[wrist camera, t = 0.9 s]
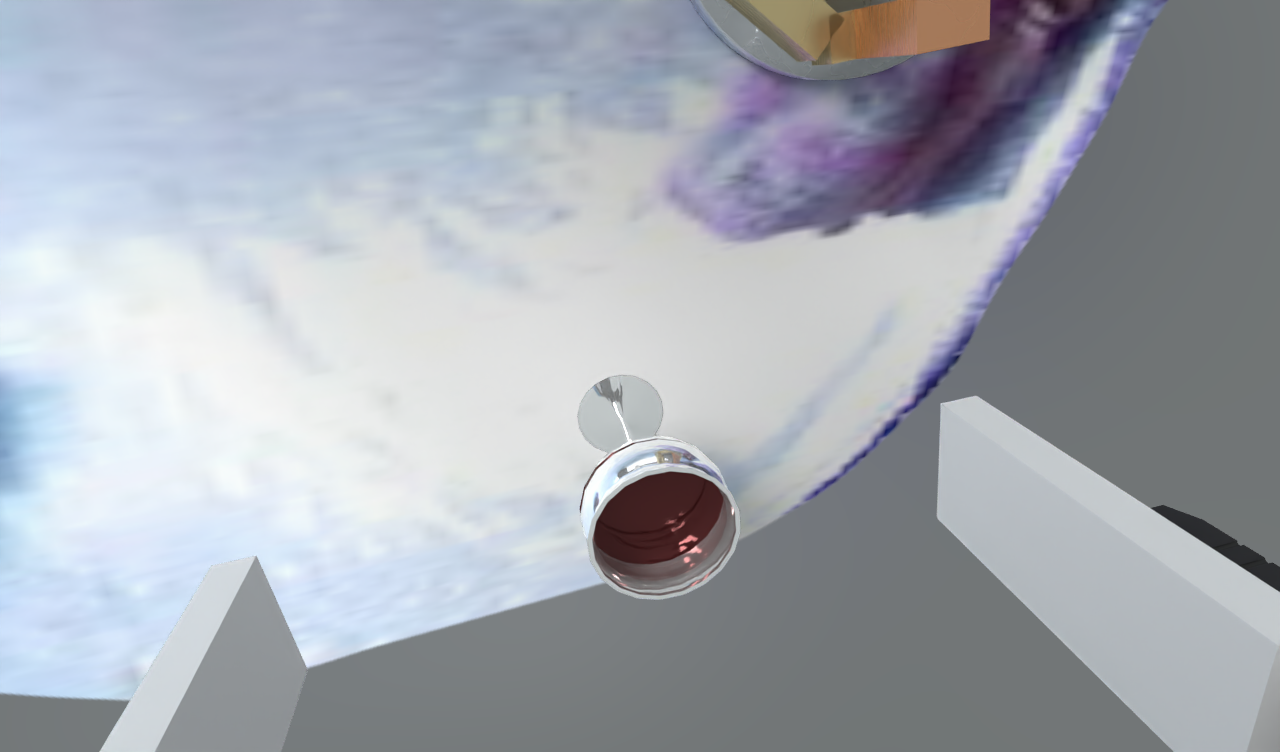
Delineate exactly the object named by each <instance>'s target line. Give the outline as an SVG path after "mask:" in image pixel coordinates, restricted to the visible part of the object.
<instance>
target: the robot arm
mask: <svg viewBox="0 0 1280 752" xmlns="http://www.w3.org/2000/svg"><path fill="white" fill-rule="evenodd" d="M938 471H939V472H938V499H937V500H938V501H937V519H938V520H939V521H940V522H941V523H942V524H943V525H944V526H945V527H946V528H947V529H948V530H950V532H952V533H953V534H954V535H955V536H956V537H957V538H958V539H959V540H960V541H961V542H962V543H963V544H964V545H965V546H966V547H967V548H968V549H969V550H970V551H971V552H972V553H973V554H974V555H975V556H976V557H977V558H978V559H979V560H980V561H981V562H982V563H983V564H984V565H985V566H986V567H987V568H988V569H989V570H990V571H991V572H992V573H993V574H994V575H995V576H996V577H997V578H998V579H999V580H1000V581H1001V582H1002V583H1003V584H1004V585H1005V586H1006V587H1007V588H1008V589H1009V590H1010V591H1011V592H1012V593H1013V594H1014V595H1015V596H1016V597H1017V598H1018V599H1019V600H1020V601H1022V603H1024V604H1025V605H1026V606H1027V607H1028V608H1029V609H1030V610H1031V611H1032V612H1033V613H1034V614H1035V615H1036V616H1037V617H1038V618H1039V619H1040V620H1041V621H1042V622H1043V623H1044V624H1045V625H1046V626H1047V627H1048V628H1049V629H1050V630H1051V631H1052V632H1053V633H1054V634H1055V635H1056V636H1057V637H1058V638H1059V639H1060V640H1061V641H1062V642H1063V643H1064V644H1065V645H1066V646H1067V647H1068V648H1069V649H1070V650H1071V651H1072V652H1073V653H1074V654H1075V655H1076V656H1077V657H1078V658H1079V659H1080V660H1081V661H1082V662H1083V663H1084V664H1085V665H1086V666H1087V667H1089V669H1090V670H1091V671H1092V672H1093V673H1095V674H1096V675H1097V676H1098V677H1099V678H1100V679H1101V680H1102V681H1103V682H1104V683H1105V684H1106V685H1107V686H1108V687H1109V688H1110V689H1111V690H1112V691H1113V692H1114V693H1115V694H1116V695H1117V696H1118V697H1119V698H1120V699H1121V700H1122V701H1123V702H1124V703H1125V704H1126V705H1127V706H1128V707H1129V708H1130V709H1131V710H1132V711H1133V712H1134V713H1135V714H1136V715H1137V716H1138V717H1139V718H1140V719H1141V720H1142V721H1143V722H1144V723H1145V724H1146V725H1148V727H1149V728H1151V730H1152V731H1153V732H1154V733H1155V734H1157V736H1159V738H1160V739H1161V740H1162V741H1163V742H1165V744H1166V745H1168V746H1169V747H1170V748H1171V749H1172V750H1173V751H1174V752H1280V567H1279V566H1277V565H1276V564H1274V563H1267V562H1266V560H1265V558H1264V557H1263V556H1261V555H1259V554H1258V553H1256V552H1254V551H1253V550H1251V549H1250V548H1248V547H1246V546H1244V545H1242V546H1240V545H1238V543H1237V540H1235V539H1233V538H1232V537H1230V536H1228V535H1227V534H1225V533H1224V532H1222V531H1220V530H1219V529H1217V528H1215V527H1214V526H1212V525H1210V524H1209V523H1207V522H1206V521H1204V520H1202V519H1199V518H1196V517H1194V516H1191V515H1188V514H1185V513H1183V512H1180V511H1177V510H1175V509H1172V508H1170V507H1167V506H1164V505H1161V506H1157V507H1153V508H1149V507H1147V506H1146V505H1144V504H1143V503H1141V502H1139V501H1138V500H1137V499H1135V498H1134V497H1132V496H1130V495H1129V494H1127V493H1126V492H1124V491H1122V490H1121V489H1119V488H1118V487H1117V486H1115V485H1113V484H1112V483H1110V482H1109V481H1107V480H1106V479H1104V478H1103V477H1101V476H1100V475H1098V474H1096V473H1095V472H1093V471H1092V470H1090V469H1089V468H1087V467H1086V466H1084V465H1083V464H1081V463H1080V462H1078V461H1076V460H1075V459H1073V458H1072V457H1070V456H1069V455H1067V454H1066V453H1064V452H1062V451H1061V450H1059V449H1058V448H1056V447H1055V446H1053V445H1052V444H1050V443H1049V442H1047V441H1045V440H1044V439H1043V438H1041V437H1039V436H1038V435H1036V434H1035V433H1033V432H1032V431H1030V430H1029V429H1027V428H1025V427H1024V426H1022V425H1021V424H1019V423H1018V422H1016V421H1015V420H1013V419H1012V418H1010V417H1008V416H1007V415H1005V414H1004V413H1002V412H1001V411H999V410H998V409H996V408H994V407H993V406H992V405H990V404H988V403H987V402H985V401H984V400H982V399H981V398H979V397H978V396H972V397H968V398H963V399H959V400H954V401H950V402H945V403H941V412H940V442H939V470H938ZM307 671H308V670H307V667H306V665H305V663H304V661H303V658H302V656H301V654H300V652H299V649H298V647H297V645H296V643H295V641H294V638H293V636H292V634H291V632H290V629H289V627H288V625H287V623H286V620H285V618H284V616H283V614H282V612H281V609H280V607H279V605H278V603H277V600H276V598H275V596H274V594H273V592H272V589H271V587H270V585H269V583H268V580H267V578H266V576H265V574H264V571H263V569H262V567H261V565H260V563H259V560H258V558H257V556H252V557H248V558H243V559H239V560H234V561H230V562H225V563H221V564H216V565H212V566H211V567H210V569H209V570H208V572H207V574H206V575H205V577H204V579H203V580H202V582H201V584H200V585H199V587H198V589H197V590H196V592H195V594H194V595H193V597H192V599H191V600H190V602H189V604H188V605H187V607H186V609H185V610H184V612H183V614H182V615H181V617H180V619H179V620H178V622H177V624H176V625H175V627H174V629H173V630H172V632H171V634H170V635H169V637H168V639H167V640H166V642H165V644H164V645H163V647H162V649H161V650H160V652H159V654H158V655H157V657H156V659H155V660H154V662H153V664H152V665H151V667H150V669H149V670H148V672H147V674H146V675H145V677H144V679H143V680H142V682H141V684H140V685H139V687H138V689H137V690H136V692H135V694H134V695H133V697H132V699H131V700H130V702H129V704H128V705H127V707H126V709H125V710H124V712H123V714H122V715H121V717H120V718H119V720H118V722H117V723H116V725H115V727H114V729H113V730H112V732H111V733H110V735H109V737H108V738H107V740H106V742H105V744H104V745H103V747H102V749H101V750H100V752H281V750H282V747H283V744H284V741H285V738H286V735H287V732H288V729H289V726H290V723H291V720H292V717H293V713H294V711H295V708H296V704H297V701H298V698H299V695H300V692H301V689H302V686H303V683H304V680H305V677H306V674H307Z"/></svg>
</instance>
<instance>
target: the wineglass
mask: <svg viewBox="0 0 1280 752" xmlns="http://www.w3.org/2000/svg"><path fill="white" fill-rule="evenodd" d="M662 415H663V410H662V401H661V399H660V397H659V395H658V393H657V391H656V390H655V389H654V388H653V387H652V386H651V385H650V384H649V383H648V382H646V381H644V380H642V379H640V378H637V377H634V376H626V375H620V376H614V377H609V378H607V379H605V380H603V381H601V382H599V383H597V384H595V385H594V386H593V387H592V388H591V389H590V390H589V391H588V392H587V393H586V395H585V396H584V398H583V400H582V402H581V403H580V407H579V412H578V422H579V428H580V430H581V432H582V434H583V436H584V437H585V439H586V440H587V441H588V442H589V443H590V444H592V445H593V446H594V447H595V448H598V449H600V450H603V451H605V452H609V453H608V454H607V455H606V456H605V457H604V458H602V459H601V460H600V461H599V462H598V464H597V466H596V467H595V469H594V471H593V472H592V474H591V476H590V478H589V479H588V481H587V483H586V484H585V487H584V490H583V495H582V500H581V505H580V515H581V521H582V527H583V533H584V536H585V537H586V539H587V544H588V550H589V556H590V562H591V563H592V565H593V567H594V568H595V570H596V572H597V573H598V575H599V576H600V578H601V579H602V580H603V581H604V582H606V583H607V584H608V585H610V586H611V587H612V588H614V589H615V590H616V591H618V592H620V593H623V594H627V595H629V596H632V597H635V598H639V599H658V600H661V599H666V598H671V597H675V596H680V595H684V594H686V593H688V592H690V591H692V590H694V589H696V588H698V587H700V586H702V585H704V584H706V583H707V582H708V581H709V580H710V579H712V578H713V577H714V576H715V575H716V574H717V573H719V572H720V571H721V570H722V569H723V567H724V566H725V565H726V563H727V562H728V560H729V559H730V557H731V556H732V554H733V553H734V551H735V548H736V545H737V542H738V538H739V535H740V532H741V527H740V511H739V508H738V506H737V504H736V502H735V500H734V498H733V496H732V493H731V492H730V491H729V490H728V488H727V485H726V483H725V480H724V478H723V476H722V474H721V472H720V470H719V468H718V467H717V466H716V465H715V464H714V463H713V462H712V461H711V460H710V459H709V458H708V457H707V456H706V455H705V454H704V453H703V452H702V451H701V450H700V449H699V448H698V447H695V446H693V445H691V444H689V443H686V442H684V441H682V440H680V439H677V438H674V437H667V436H657V435H655V433H656V431H657V430H658V428H659V427H660V424H661V419H662Z"/></svg>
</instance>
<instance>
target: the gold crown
mask: <svg viewBox="0 0 1280 752" xmlns="http://www.w3.org/2000/svg"><path fill="white" fill-rule="evenodd" d="M725 1H726V2H728V3H729V4H730V5H731V6H732V7H734V8H735V9H736V10H737V11H738V12H739V13H741V14H742V15H743V16H744V17H745V18H746V19H748V20H749V21H750V22H751V23H752V24H753V25H755V26H756V27H757V28H758V29H759V30H760V31H762V32H763V33H764V34H765V35H766V36H767V37H769V38H770V39H771V40H772V41H773V42H775V43H776V44H777V45H778V46H779V47H780V48H782V49H783V50H784V51H785V52H786V53H787V54H789V55H790V56H791V57H792V58H793V59H794V60H796V61H797V62H804V61H812V66H813V65H828V64H835V63H840V62H845V61H850V60H855V59H864V58H877V57H890V56H904V55H917V54H922V53H927V52H932V51H936V50H941V49H946V48H951V47H956V46H960V45H965V44H970V43H975V42H980V41H984V40H989V36H990V0H896V1H892V2H887V3H883V4H878V5H873V6H869V7H864V8H859V9H855V10H850V11H845V12H840V13H837V12H836V11H835V10H834V9H833V8H832V7H830V6H829V5H828V4H827V3H826V2H825V1H824V0H725Z"/></svg>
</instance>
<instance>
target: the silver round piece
mask: <svg viewBox="0 0 1280 752" xmlns="http://www.w3.org/2000/svg"><path fill="white" fill-rule="evenodd" d="M690 1H691V3H692V4H693V6H694V8H695V9H696V11H697V12H698V14H699V15H700V16H701V17H702V19H703V20H704V21H705V22H706V24H707V25H708V26H709V27H710V29H711V30H712V31H713V32H714V33H715V34H716V35H717V36H718V37H719V38H720V39H721V40H722V41H724V42H725V43H726V44H727V45H728V46H729V47H730V48H731V49H733V50H734V51H736V52H737V53H738V54H740V55H741V56H743V57H744V58H745V59H747V60H749V61H751V62H753V63H754V64H756V65H758V66H760V67H762V68H764V69H766V70H769V71H772V72H775V73H778V74H781V75H784V76H788V77H793V78H799V79H805V80H844V79H851V78H858V77H864V76H867V75H871V74H874V73H878V72H881V71H884V70H887V69H889V68H891V67H893V66H896V65H898V64H900V63H902V62H904V61H906V60H908V59H909V58H911V57H913V56H914V55H904V56H890V57H877V58H864V59H855V60H850V61H845V62H840V63H835V64H828V65H813V66H812V61H804V62H797V61H796V60H794V59H793V58H792V57H791V56H790V55H789V54H787V53H786V52H785V51H784V50H783V49H782V48H780V47H779V46H778V45H777V44H776V43H775V42H773V41H772V40H771V39H770V38H769V37H767V36H766V35H765V34H764V33H763V32H762V31H760V30H759V29H758V28H757V27H756V26H755V25H753V24H752V23H751V22H750V21H749V20H748V19H746V18H745V17H744V16H743V15H742V14H741V13H739V12H738V11H737V10H736V9H735V8H734V7H732V6H731V5H730V4H729V3H728V2H726V1H725V0H690ZM824 1H825V2H826V3H827V4H828V5H829V6H830V7H832V8H833V9H834V10H835V11H836V12H837V13H840V12H845V11H850V10H855V9H859V8H864V7H869V6H873V5H878V4H883V3H887V2H892V1H896V0H824Z"/></svg>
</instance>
